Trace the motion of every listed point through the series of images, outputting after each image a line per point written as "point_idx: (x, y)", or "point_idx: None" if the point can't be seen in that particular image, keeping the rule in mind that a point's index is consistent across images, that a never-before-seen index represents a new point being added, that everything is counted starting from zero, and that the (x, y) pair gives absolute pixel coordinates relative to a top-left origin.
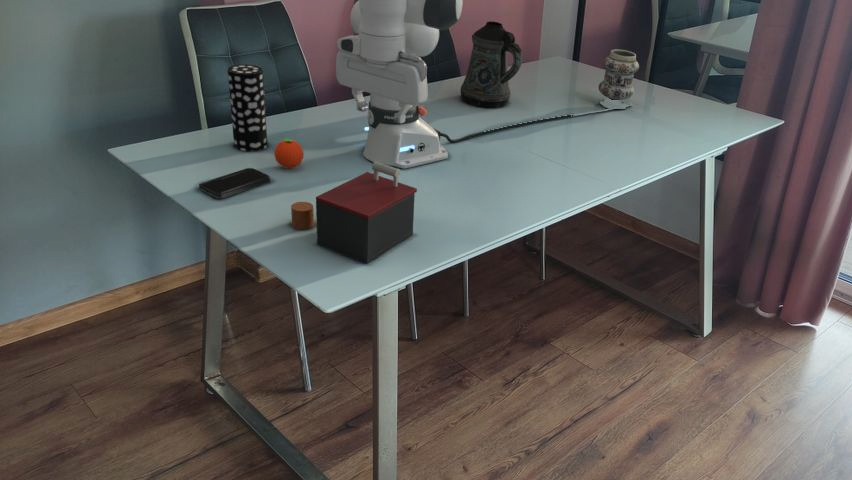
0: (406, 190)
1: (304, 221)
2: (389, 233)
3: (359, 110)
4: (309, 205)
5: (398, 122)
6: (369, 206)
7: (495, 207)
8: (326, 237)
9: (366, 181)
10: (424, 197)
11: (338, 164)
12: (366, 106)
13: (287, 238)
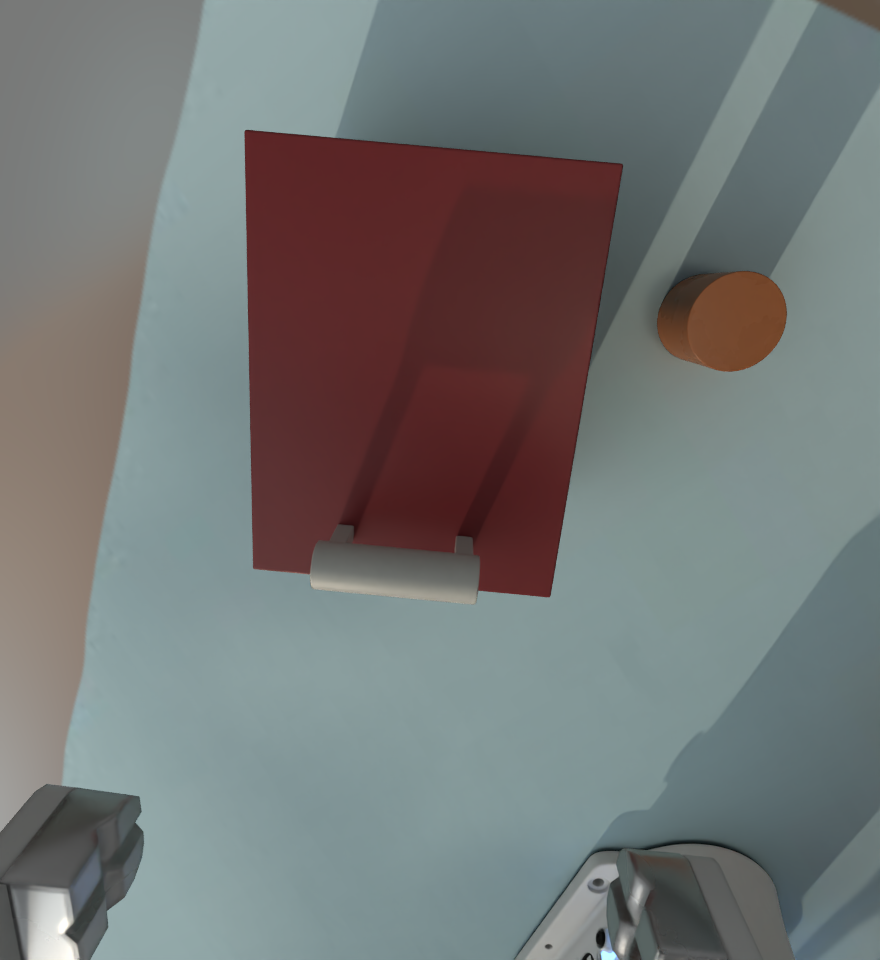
0: (277, 522)
1: (686, 287)
2: None
3: (673, 855)
4: (711, 347)
5: (70, 787)
6: (309, 244)
7: (213, 772)
8: None
9: (493, 500)
10: (432, 722)
11: (812, 780)
12: (626, 955)
13: (696, 180)
